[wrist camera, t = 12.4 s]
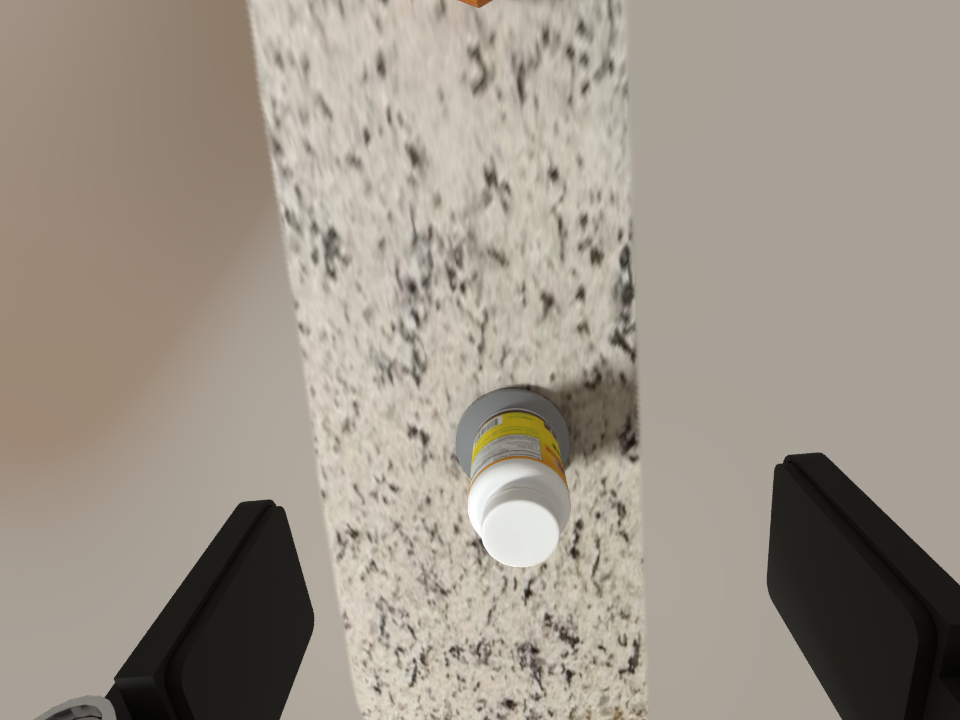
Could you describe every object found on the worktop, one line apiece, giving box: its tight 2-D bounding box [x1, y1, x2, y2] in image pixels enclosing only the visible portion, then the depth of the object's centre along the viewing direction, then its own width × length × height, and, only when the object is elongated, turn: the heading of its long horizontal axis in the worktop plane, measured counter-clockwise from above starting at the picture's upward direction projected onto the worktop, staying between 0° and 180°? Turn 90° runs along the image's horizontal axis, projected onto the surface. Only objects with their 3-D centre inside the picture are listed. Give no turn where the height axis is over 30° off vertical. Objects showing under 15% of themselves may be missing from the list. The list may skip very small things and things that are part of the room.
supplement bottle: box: [468, 408, 571, 567], centre depth 34 cm, size 6×6×10 cm
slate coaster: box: [456, 388, 570, 478], centre depth 39 cm, size 8×8×1 cm
